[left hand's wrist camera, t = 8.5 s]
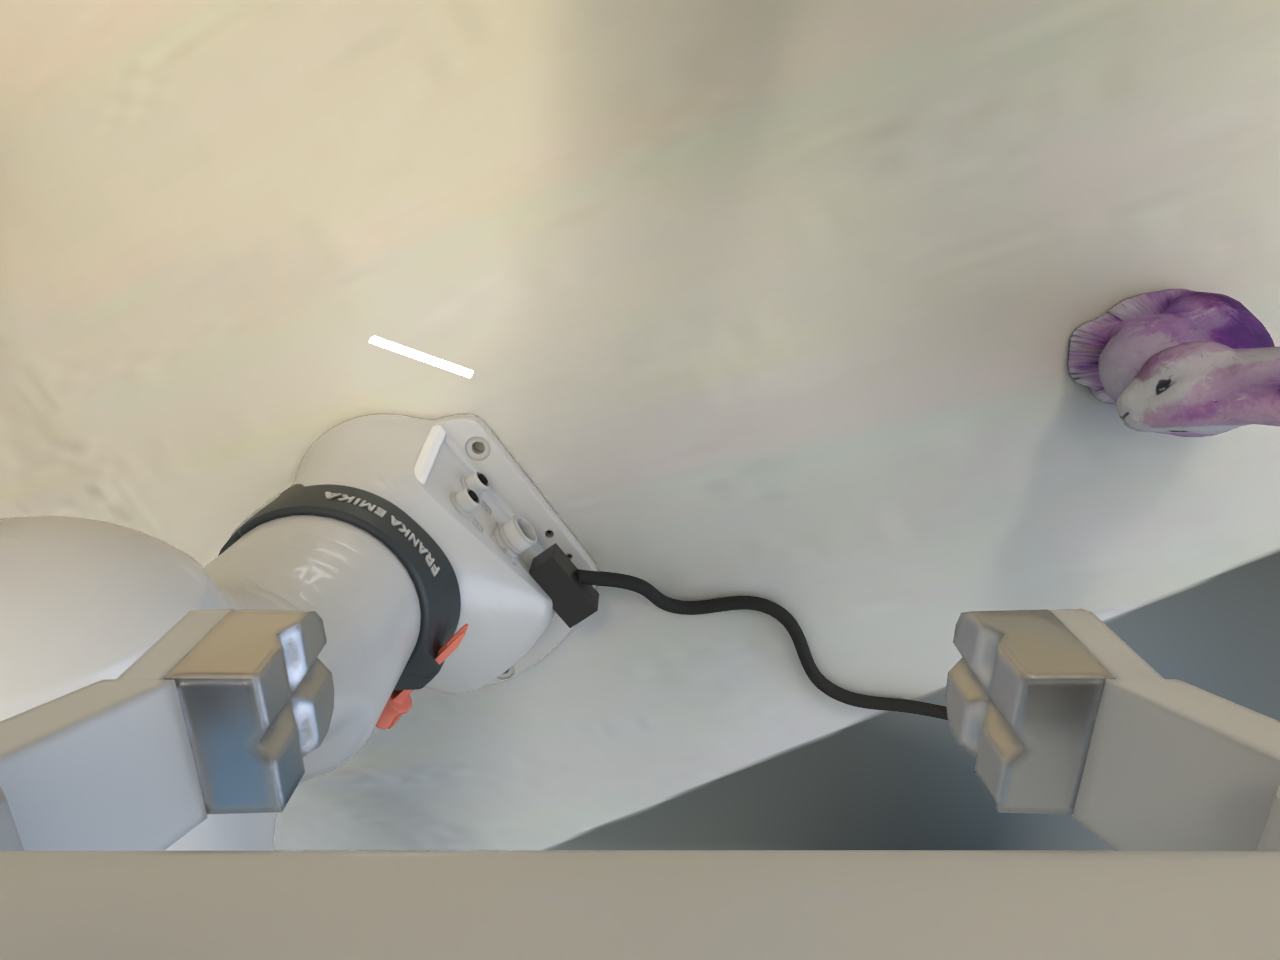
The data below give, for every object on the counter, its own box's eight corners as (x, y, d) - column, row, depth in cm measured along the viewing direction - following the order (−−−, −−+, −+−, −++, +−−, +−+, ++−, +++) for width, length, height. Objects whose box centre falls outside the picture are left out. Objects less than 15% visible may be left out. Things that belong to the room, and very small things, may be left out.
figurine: (1027, 369, 52) (1169, 433, 38) (1151, 246, 50) (1354, 266, 36) (1117, 455, 54) (1284, 546, 40) (1241, 342, 52) (1467, 397, 38)
